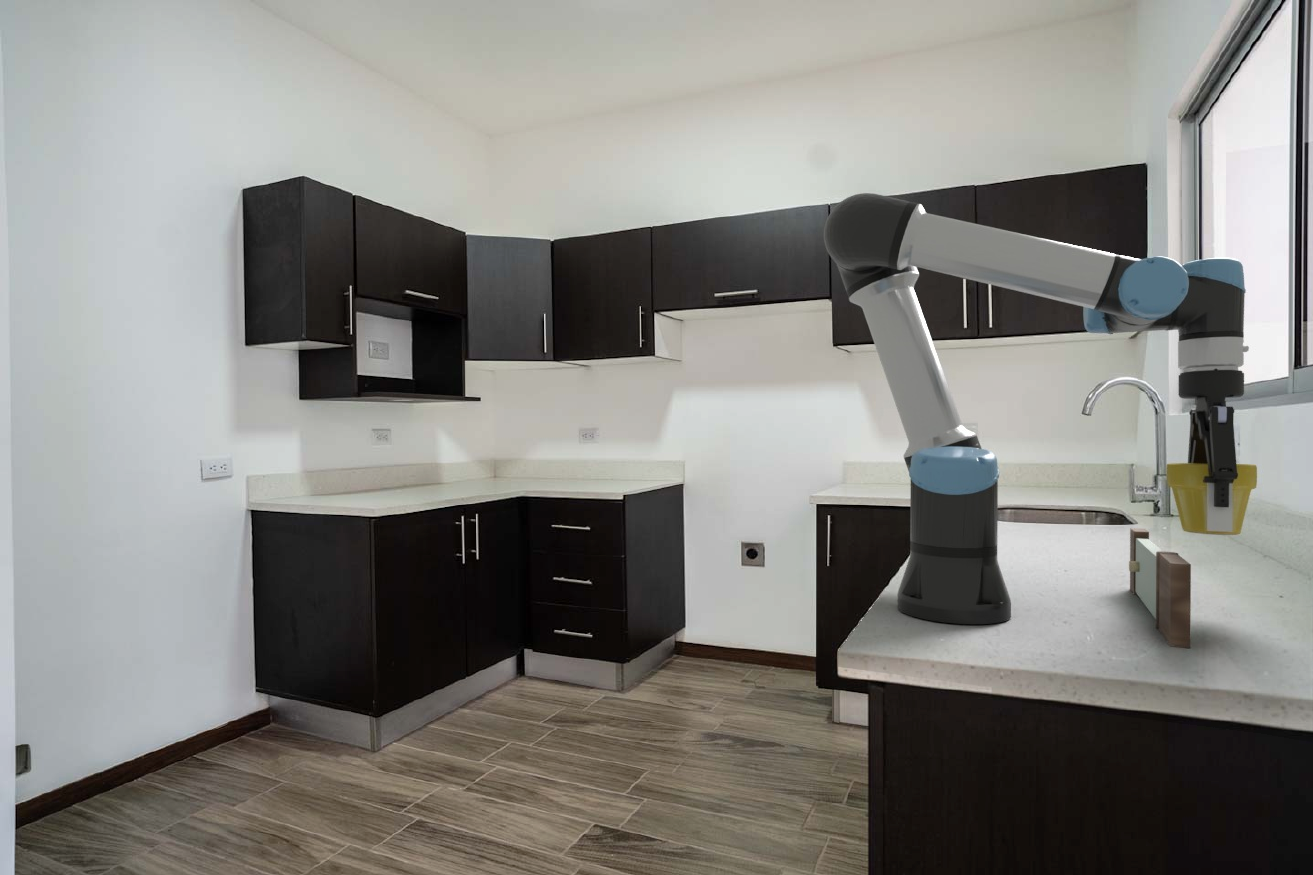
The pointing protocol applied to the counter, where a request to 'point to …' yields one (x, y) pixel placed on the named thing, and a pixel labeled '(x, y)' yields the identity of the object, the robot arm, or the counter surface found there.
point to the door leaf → (1145, 572)
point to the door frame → (1168, 592)
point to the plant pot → (1194, 495)
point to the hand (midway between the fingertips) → (1210, 526)
